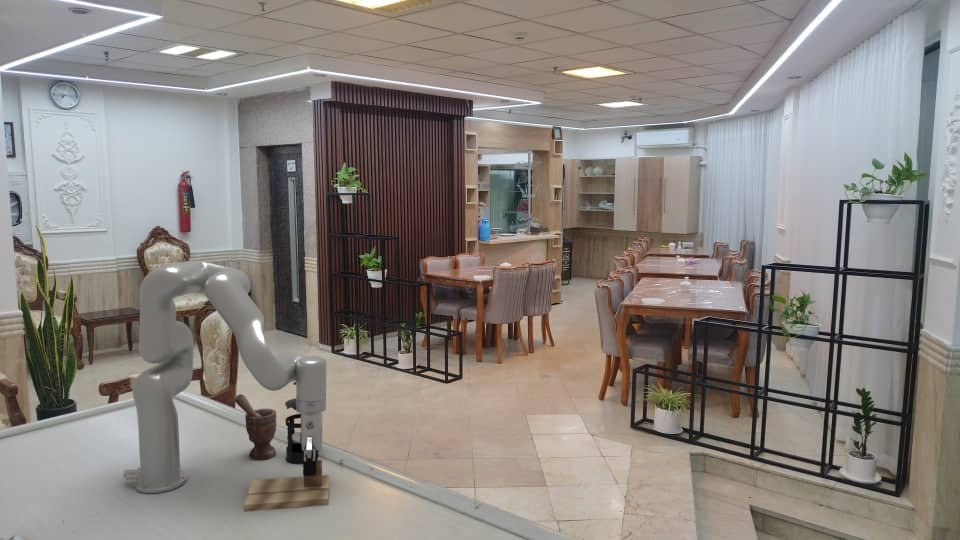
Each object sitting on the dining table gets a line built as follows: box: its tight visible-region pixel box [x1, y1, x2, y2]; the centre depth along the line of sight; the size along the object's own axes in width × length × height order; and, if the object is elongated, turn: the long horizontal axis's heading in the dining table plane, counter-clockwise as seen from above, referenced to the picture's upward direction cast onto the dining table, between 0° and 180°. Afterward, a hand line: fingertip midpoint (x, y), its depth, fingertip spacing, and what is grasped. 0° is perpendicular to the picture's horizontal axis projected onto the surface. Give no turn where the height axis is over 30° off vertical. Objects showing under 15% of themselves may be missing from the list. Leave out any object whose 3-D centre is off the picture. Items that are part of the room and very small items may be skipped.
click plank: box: [247, 474, 330, 494], centre depth 173 cm, size 20×7×2 cm, turn 101°
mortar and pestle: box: [234, 394, 277, 461], centre depth 194 cm, size 12×9×20 cm
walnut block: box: [303, 459, 323, 487], centre depth 174 cm, size 4×4×5 cm
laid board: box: [243, 487, 330, 512], centre depth 166 cm, size 20×6×2 cm, turn 101°
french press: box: [284, 381, 319, 465], centre depth 194 cm, size 12×9×23 cm
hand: (310, 467), depth 174 cm, fingers open, 9 cm apart
